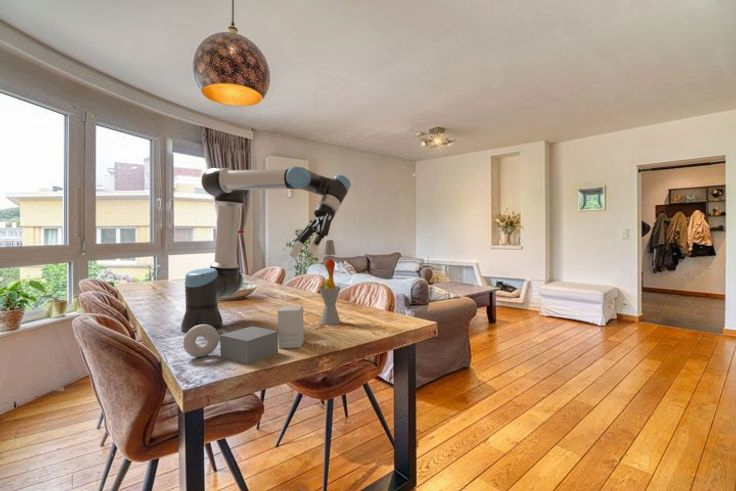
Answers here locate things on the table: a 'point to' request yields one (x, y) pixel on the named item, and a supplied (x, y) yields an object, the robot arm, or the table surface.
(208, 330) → the donut
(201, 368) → the table surface
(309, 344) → the table surface
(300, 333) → the supplement box
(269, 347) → the slate block
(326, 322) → the lava lamp
